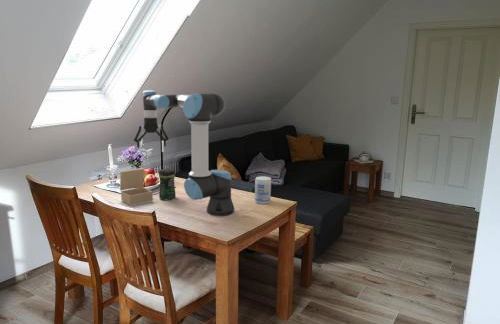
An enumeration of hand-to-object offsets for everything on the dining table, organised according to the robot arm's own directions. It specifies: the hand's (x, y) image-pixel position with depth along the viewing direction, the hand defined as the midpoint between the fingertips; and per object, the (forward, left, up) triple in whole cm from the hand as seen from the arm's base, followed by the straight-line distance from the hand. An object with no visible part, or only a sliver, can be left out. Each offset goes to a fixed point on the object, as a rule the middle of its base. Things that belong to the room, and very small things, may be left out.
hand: (151, 152), depth 235 cm
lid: (+2, +12, -15) cm, 20 cm away
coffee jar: (-9, -5, -28) cm, 30 cm away
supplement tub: (-50, -46, -28) cm, 73 cm away
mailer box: (-3, +12, -28) cm, 30 cm away
